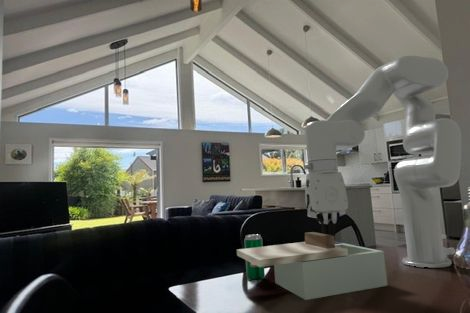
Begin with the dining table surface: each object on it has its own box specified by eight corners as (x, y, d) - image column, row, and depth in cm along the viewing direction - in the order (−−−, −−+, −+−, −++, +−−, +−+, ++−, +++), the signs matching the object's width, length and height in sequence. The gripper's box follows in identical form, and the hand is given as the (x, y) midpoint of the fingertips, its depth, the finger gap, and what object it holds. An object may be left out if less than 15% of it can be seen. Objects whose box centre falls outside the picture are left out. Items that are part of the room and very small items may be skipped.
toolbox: (346, 272, 94) (343, 243, 95) (387, 285, 79) (383, 251, 80) (275, 282, 87) (272, 251, 88) (305, 300, 72) (302, 262, 73)
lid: (312, 246, 92) (310, 230, 92) (348, 255, 77) (346, 236, 77) (237, 255, 85) (235, 238, 86) (259, 267, 70) (258, 246, 71)
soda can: (252, 282, 90) (249, 237, 91) (243, 278, 94) (240, 235, 96) (268, 278, 92) (265, 234, 93) (259, 275, 97) (255, 233, 98)
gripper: (304, 167, 81) (310, 244, 79) (355, 165, 86) (363, 238, 83) (290, 170, 88) (296, 240, 86) (338, 168, 93) (345, 235, 91)
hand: (329, 239), depth 85 cm, fingers closed
